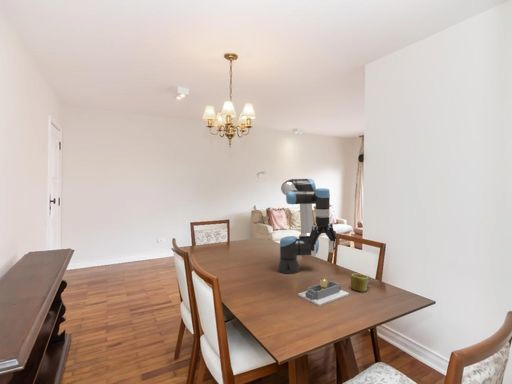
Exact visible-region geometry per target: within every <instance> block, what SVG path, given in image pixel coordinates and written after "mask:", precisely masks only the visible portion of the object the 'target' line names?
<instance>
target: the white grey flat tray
mask: <svg viewBox="0 0 512 384" xmlns="http://www.w3.org/2000/svg"><path fill="white" fill-rule="evenodd" d="M341 288H342V287H341V285H340V283H338V282H336V281H334V280H333V281H332V280H331V281H330V280H328V288H326V289H323V290H320V283H318V284H315V285H311V286H308V287H307V289H306V291H302V292H299V293H297V296H299V297H301V298H302V299H304V300H306V301H309V302H310V303H312V304H314V305H316V306H318V307H322V306H324V305H327V304H330V303H332V302H335V301H338V300H340V299H343V298H345V297H348V296H350V293H349V292H348V291H345V290H342V289H341Z"/></svg>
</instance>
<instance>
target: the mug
mask: <svg viewBox="0 0 512 384" xmlns="http://www.w3.org/2000/svg"><path fill="white" fill-rule="evenodd" d="M350 277H351V278H350V288H351V290H353V291H356V292H361V293H364V292H367V290H368V284H369V282H370V281H371V276H370V275H368V274H363V273H362V274H361V273H352V274H351V275H350Z"/></svg>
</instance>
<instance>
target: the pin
mask: <svg viewBox="0 0 512 384" xmlns="http://www.w3.org/2000/svg"><path fill="white" fill-rule="evenodd" d="M328 281H329V280H328V278H326V277H320V278H319V284H320V290H323V289H326V288H328Z"/></svg>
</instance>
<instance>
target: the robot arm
mask: <svg viewBox="0 0 512 384" xmlns="http://www.w3.org/2000/svg"><path fill="white" fill-rule="evenodd" d="M280 190H281V192H282V194H283V195H285V201H286V204H288V205H299V213H300V214H299V215H300V220H299V221H300V234H299V235H298V237H297V236H295V235H292V236H291V235H287V236H285V237H282V238H280V241H279V262H278V265H277V272H279V273H281V274H286V275H287V274H289V275H291V274H297V273H299V272H300V266H299V262H298V256H311V257H314V258H316V256H317V254H318V252H319V247H320V241H319V238H320V236H321V235H323V234H325V235H326V237H327V238H328V253H334V245H335V243H334V242H336V240H337V235H336V233H335V230H334V228H333V224H332V223H330V196H331V194H330V193H331V192H330V189H329V188H327V187H325V188H321V187H320V188H316V183H315V180H314V179H312V178H291V179H288V180H286V181H284V182H283V183H282V184H281V187H280ZM313 204H314V205H315V213H314V215H315V225H316V226H315V225H314V223H313V221H314V219H313V217H314V216H313Z"/></svg>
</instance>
